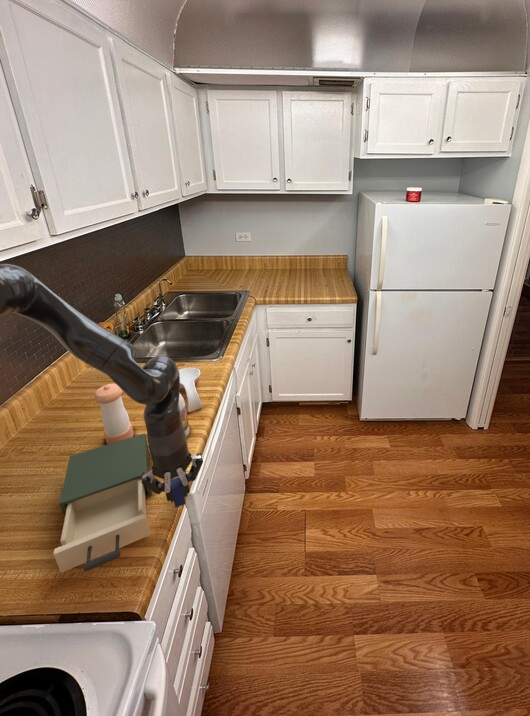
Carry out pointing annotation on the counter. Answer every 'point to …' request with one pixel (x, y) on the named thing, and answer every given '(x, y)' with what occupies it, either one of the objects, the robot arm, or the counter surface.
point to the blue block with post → (177, 492)
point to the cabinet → (105, 469)
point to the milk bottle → (183, 414)
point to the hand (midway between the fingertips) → (178, 496)
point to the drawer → (102, 526)
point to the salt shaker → (113, 414)
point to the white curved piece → (190, 387)
